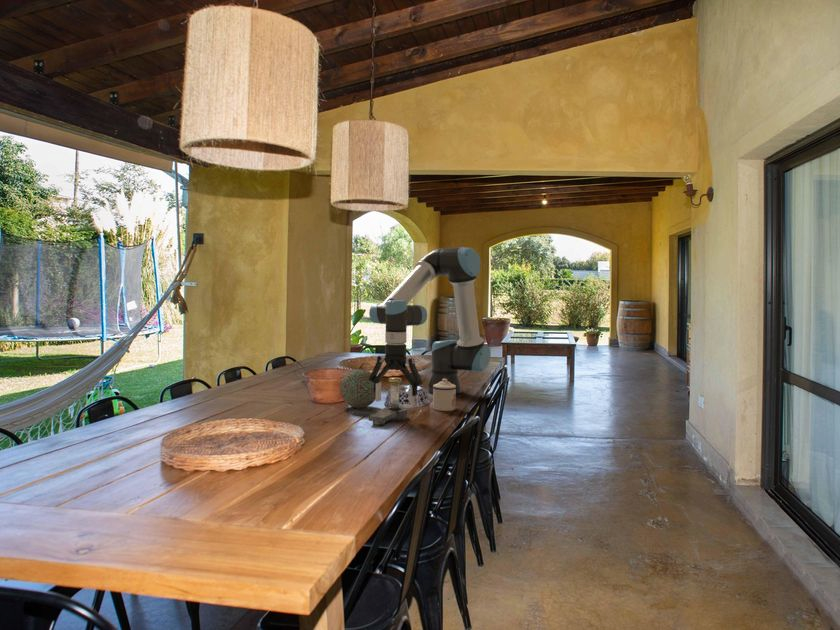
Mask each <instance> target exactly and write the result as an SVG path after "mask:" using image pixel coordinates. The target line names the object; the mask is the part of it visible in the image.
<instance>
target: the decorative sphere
mask: <svg viewBox="0 0 840 630" xmlns="http://www.w3.org/2000/svg"><path fill="white" fill-rule="evenodd" d="M371 373H372V371H369V370H368V369H365V368H355V369H352V370H350V371H348V372H347V373H345V375H344V376H343V377H342V379H341V380H340V381H341V382H340V385H339V392H340V396H341V399H343V401H344V402H345V404H346V405H348V406H350V407H352V408H355V409H357V408H360V407H361V408H367V407H369V406H371V405H372V404H373V403H374V402H376V392H374V383H373V382H372V381H369V377H370V375H371Z"/></svg>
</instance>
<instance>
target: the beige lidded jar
mask: <svg viewBox="0 0 840 630" xmlns="http://www.w3.org/2000/svg"><path fill="white" fill-rule="evenodd" d="M432 394H433V395H432V409H433V410H434V411H440V412H452V411H455V410H456V396H457V394H456V385H454V384H451V383H450V382H448V381H447V379H442V381H441V382H439V383H437V384H434V385H433V393H432Z"/></svg>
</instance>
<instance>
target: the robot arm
mask: <svg viewBox="0 0 840 630" xmlns="http://www.w3.org/2000/svg"><path fill="white" fill-rule="evenodd" d="M481 263H482V262H481V258H480V255H479V253H478V252H477V251H476V250H475V249H474V248H472V247H465V246H459V247H439V248H436V249H434V250H432V251H430V252H429V253H427V254H426V255H424V256H423V257H422V258H420V259H419V261H418V262H416V264H414V265H415V266H414V269H413V270H412V271H411V272H410V273H409V274H408V275H407V276H406V278H404V280H402V282H401V283H400V284H398V286H397V287H396V288H395V289H394V290H393V291H392V292H391V293H390V294H389V295H388V296H387V297H386V298H385V299H384V300H383V302H381V303H380V302H379V303H374V304H372V305H371V307H370V308H369V312H368V314H369V319H370V320H371V322H373V323H374V324H380V325H385V335H384V336H385V341H384V342H385V343H386V344H385V345H384V347H385V348H384V350H385V351H384V354H385V355H384V356H383V355H378V356H377V357H376V362H375V364H374V367H373V369H372V371H371V375H370V377H369V381H372V382H373V383H374V392H376V399H375V403H376V402H380V401H382V382H380V381H381V380H382V378H383V377H385V375H386V374H387V373H388V372H389V370H392V371H400V372H401V373H402V374H403V375H404V376H405V378H406V380H407V381H408V383H409V384H410V385H411V386H409V406H414V405H415V403H416V396H417V395H418V386H421V385H423V380H422V378H421V376H420V373H419V371H418V369H417V366H416V363H415V362H416V361H415V358H414V357H412V358H407V345H406V343H407V327H412V326H413V327H414V326H417V327H418V326H419V325H420V326H421V325H424V324H425V323H426V321H427V320H428V311H427V309H426V308H425V307H424V306H423V305H421V304H419V305H418V304H409V303H410V302H411V301H412V300H413V299H414V298H415V296H416V295H418V293H419V292H420V291H421V290H422V289H423V288H424V287H425V285H426V284H427V283H429V282H432V281H433V280H434V279H435V278H437V277H442V276H445V277H448V282H449V283H450V284H451V285H452V287H453V288H452V289H453V295H454V303H455V312H456V320H457V327H458V335H459V339H447V340H438V341H434V342H433V343H432V345H431V346H432V347H431V375H430V378H429V381H428V383H427V392H428V393H429V394H433V385H434V384H437V383H439V382H441V381H442V379H447V381H448V382H450V383H451V384H454V385H456V395H459V394H461V393H462V385H461V382H460V378H459V374H458V373H459V371H463V372H464V371H465V372H473V373H481V372H484V371H486V369H487V368H488V366H489V364H490V360H491V354H492V352H491V348H490V347H489V346H488V345H486V344H485V340H484V338H483V337H482V336H480V328H479V320H478V318H479V317H478V312H477V311H478V309H477V303H476V301H477V300H476V294H475V293H476V292H475V284H474V283H475V281H476V280H477V276H479V274H480V272H481V266H482V264H481ZM384 362H385V365H384V366H383V363H384ZM406 364H407V365H408V367H407V365H406ZM382 366H383V368H382V369H381V367H382ZM408 368H409V369H408ZM380 369H381V371H380ZM379 371H380V372H379Z"/></svg>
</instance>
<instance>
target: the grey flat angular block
mask: <svg viewBox="0 0 840 630" xmlns="http://www.w3.org/2000/svg"><path fill="white" fill-rule="evenodd" d="M351 412H352V413H351V414H352V416H359V417H360V416H361V417H368V421H369V422H372V426H373V427H384V426H385V422H388V421H390V422H391V421H393V422H396V421H406V420H408V409H407V407H404V406H399V410H390V406H385V407H383V408H382V409H376V408H367V407H364V408H361V407H360V408H355V409H352V411H351Z"/></svg>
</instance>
